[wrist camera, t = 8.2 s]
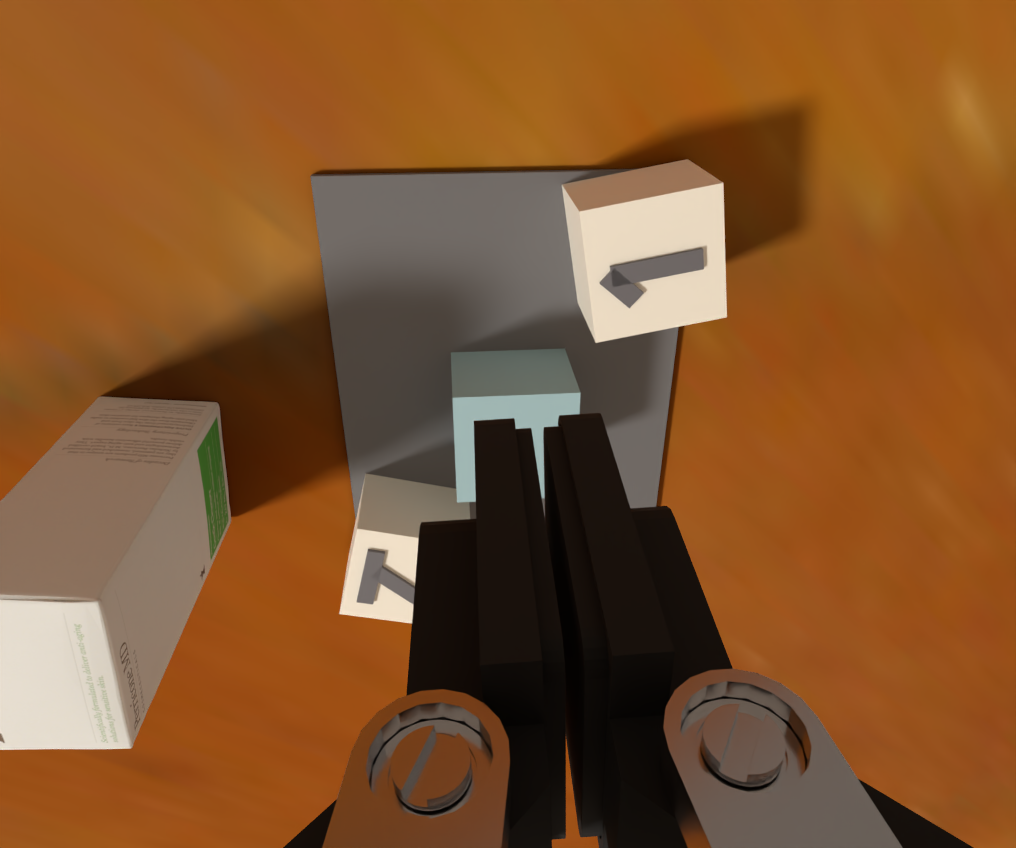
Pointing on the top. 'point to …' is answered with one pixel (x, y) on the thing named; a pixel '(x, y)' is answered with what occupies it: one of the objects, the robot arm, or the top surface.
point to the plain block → (508, 400)
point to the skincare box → (105, 569)
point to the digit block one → (647, 249)
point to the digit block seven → (392, 544)
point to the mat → (468, 316)
